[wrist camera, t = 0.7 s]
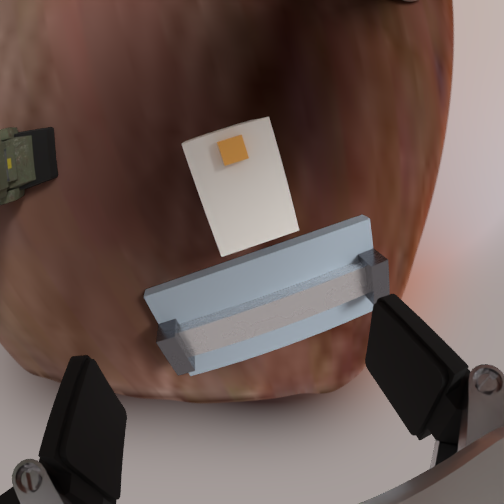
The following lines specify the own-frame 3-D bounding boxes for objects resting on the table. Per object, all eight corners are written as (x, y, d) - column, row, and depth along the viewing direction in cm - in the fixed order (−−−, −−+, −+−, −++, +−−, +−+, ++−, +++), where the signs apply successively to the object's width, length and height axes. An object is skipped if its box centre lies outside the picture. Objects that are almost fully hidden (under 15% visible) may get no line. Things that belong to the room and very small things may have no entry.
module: (250, 120, 25) (271, 116, 17) (275, 206, 28) (302, 234, 21) (185, 140, 24) (180, 144, 17) (215, 226, 28) (222, 261, 21)
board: (362, 214, 30) (369, 218, 29) (371, 302, 35) (377, 308, 34) (145, 289, 29) (143, 297, 28) (190, 367, 34) (190, 376, 33)
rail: (373, 248, 30) (388, 259, 28) (376, 285, 32) (389, 298, 30) (158, 323, 29) (156, 342, 26) (178, 356, 31) (178, 375, 29)
